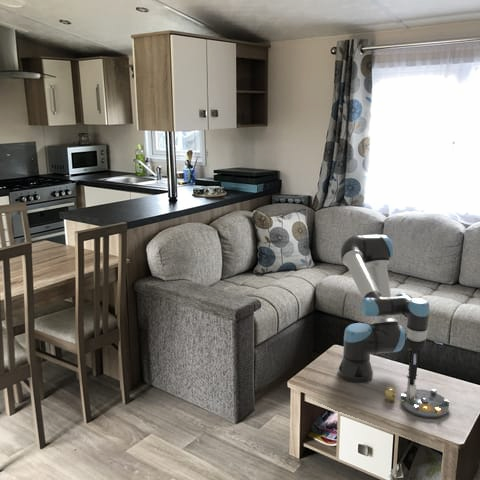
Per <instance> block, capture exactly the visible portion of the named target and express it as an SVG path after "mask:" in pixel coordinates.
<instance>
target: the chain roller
mask: <svg viewBox="0 0 480 480" xmlns="http://www.w3.org/2000/svg"><path fill="white" fill-rule="evenodd" d="M395 400H396V388H395V387H392V386H386V387H385V391H384V401H385V402H386V403H389V404H391V403H395Z"/></svg>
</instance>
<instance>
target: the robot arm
mask: <svg viewBox="0 0 480 480" xmlns="http://www.w3.org/2000/svg"><path fill="white" fill-rule="evenodd" d="M393 256H394V248H393V243H392V241H391V239H390V238H389V237H388V236H387V235H385V234H364V235H362V234H361V235H357V234H356V235H353V236H350V237H348V238H347V239H346V240H345V241H344V242H343V244H342V245H341V249H340V258H341V261H342V264H343V265H344V266H346V267H347V268H348V271H349V273H350V275H351V277H352V279H353V281H354V283H355V286H356V288H357V290H358V291H359V294H360V296H361V298H362V299H361V301H360V309H361V313H362V315H363V316H364V317H373V321H372V322H371V325H370V324H368V323H362V322H357V323H351V324H349V325H347V326H346V327H345V330H344V335H343V352H342V353H343V356H342V359H341V362H340V365H339V367H338V376H339V377H340V378H342V379H343V380H344V381H347V382H351V383H356V384H360V383H361V384H363V383H368V382H370V381H371V380H372V379H373V376H374V370H373V369H372V368H373V367H372V364H371V355H372V354H387V353H388V354H391V353H392V354H393V353H396V352H401V351H402V349H403V348H404V345H405V347H406V348H407V349H408V362H409V363H408V374H407V375H406V378H407V384H406V385H407V386H406V391H407V392H409V390H410V384H415V385H416V380H417V376H418V374H417V371H418V365H419V360H420V356H421V353H420V352H421V351H423V350H425V349H426V343H427V342H426V341H427V340H426V339H427V336H428V335H427V334H428V326H429V324H428V323H429V317H430V303H429V301H427V299H423V298H419V297H413V296H411V294H410V295H409V294H408V293H405V292H399V293H398V292H397V293H396V294H395V295H393V296H392V294H391V285H390V280H389V278H390V277H389V272H388V265H389V264H390V261H391V259H392V258H393ZM394 316H404V317H405V318H406V319H407V321H406V323H407V324H406V328H404V327H403V326H402V325H400V324H399V321H398V320H397V319H396V318H395V317H394ZM405 332H406V333H405Z"/></svg>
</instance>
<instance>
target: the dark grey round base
mask: <svg viewBox="0 0 480 480" xmlns="http://www.w3.org/2000/svg"><path fill="white" fill-rule="evenodd" d="M400 404H401V407H402V408H403V409H404V410H405V411H406V412H408V413H410V414H411V415H414V416H416V417H419V418H424V419H425V418H426V419H440V418H443V417H444V416H446V415H448V413H449V409H450V408H449V406H450V399H446V398H445V397H444V396H442V395H441V394H438V393H437V389H436V388H432V389H431V390H426V389H420V388H417V384H416V383H415V384H410V390H409V392H407V390H406V391H404V392H403V393H401V395H400Z"/></svg>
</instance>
